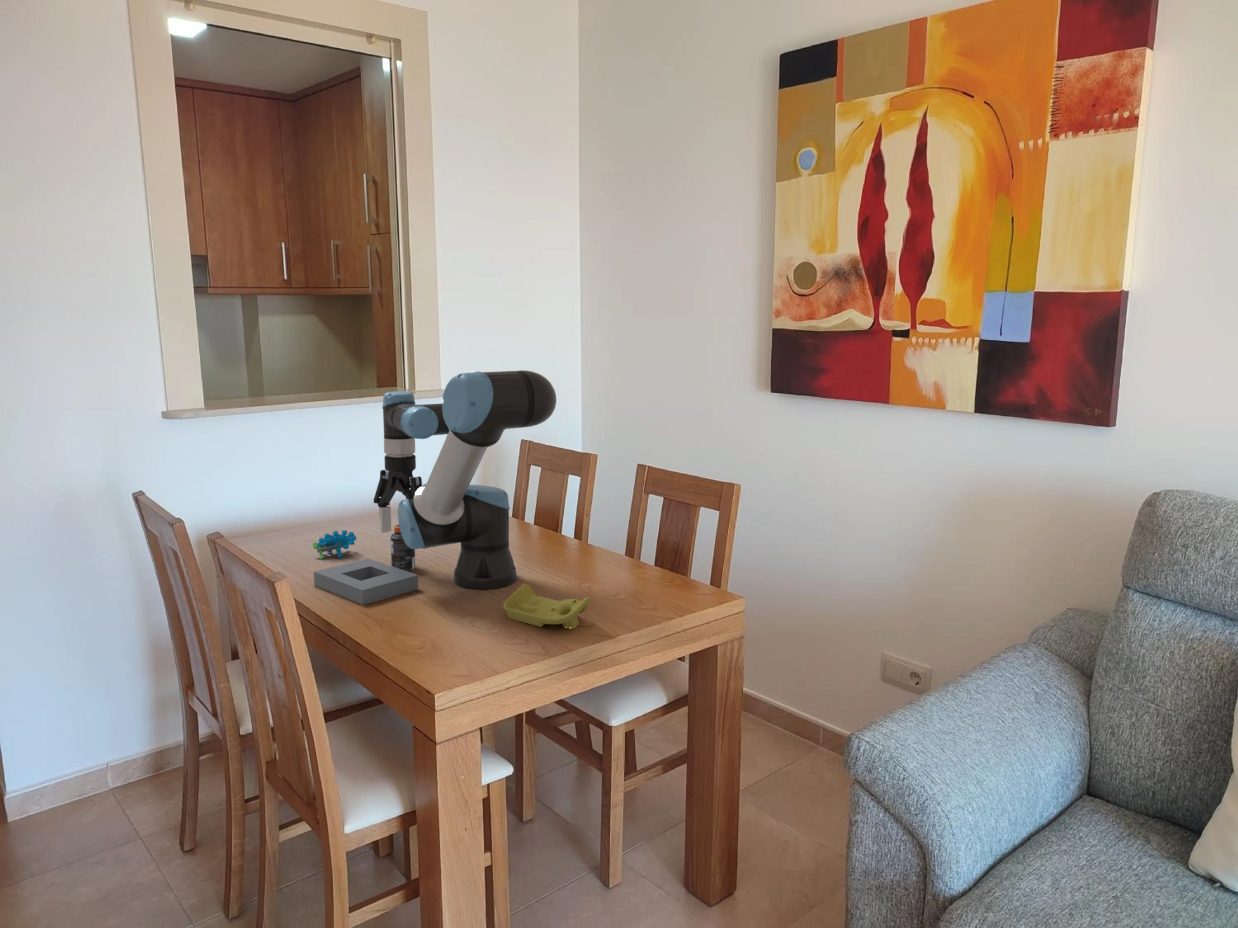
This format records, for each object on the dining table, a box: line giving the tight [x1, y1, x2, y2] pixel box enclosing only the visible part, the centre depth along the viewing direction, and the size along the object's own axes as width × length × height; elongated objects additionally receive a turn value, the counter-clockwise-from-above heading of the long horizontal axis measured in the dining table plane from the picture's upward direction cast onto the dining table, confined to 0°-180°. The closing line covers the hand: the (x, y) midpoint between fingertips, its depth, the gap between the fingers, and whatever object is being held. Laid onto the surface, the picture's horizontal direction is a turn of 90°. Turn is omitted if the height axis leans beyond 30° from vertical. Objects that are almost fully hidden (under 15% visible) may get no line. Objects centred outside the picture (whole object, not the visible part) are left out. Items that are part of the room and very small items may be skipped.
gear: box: [312, 530, 357, 560], centre depth 229 cm, size 11×6×10 cm
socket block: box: [313, 558, 419, 606], centre depth 205 cm, size 20×15×4 cm
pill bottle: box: [390, 523, 417, 572], centre depth 219 cm, size 6×6×11 cm
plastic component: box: [502, 583, 591, 629], centre depth 185 cm, size 20×7×10 cm
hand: (402, 537), depth 219 cm, fingers open, 13 cm apart
